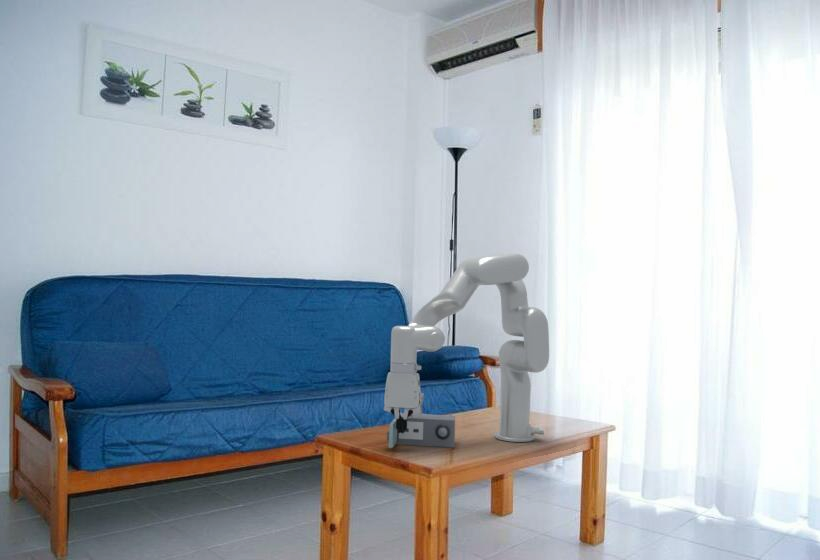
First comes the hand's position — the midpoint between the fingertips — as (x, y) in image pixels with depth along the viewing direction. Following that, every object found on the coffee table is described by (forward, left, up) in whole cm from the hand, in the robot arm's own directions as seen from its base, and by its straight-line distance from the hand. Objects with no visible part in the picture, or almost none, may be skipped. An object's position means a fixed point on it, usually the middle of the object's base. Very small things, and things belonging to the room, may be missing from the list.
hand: (401, 432), depth 186 cm
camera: (-4, -31, -5) cm, 32 cm away
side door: (+3, -2, -4) cm, 5 cm away
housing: (-6, -11, -5) cm, 14 cm away
